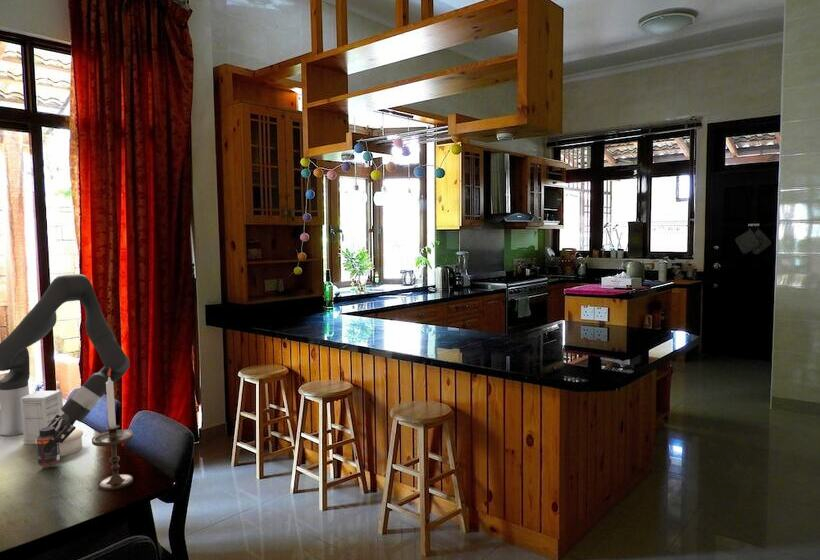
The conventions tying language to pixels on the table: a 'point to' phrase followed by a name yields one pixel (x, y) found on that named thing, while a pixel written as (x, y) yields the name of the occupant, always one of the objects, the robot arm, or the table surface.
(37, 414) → the supplement box
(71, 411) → the robot arm
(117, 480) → the candlestick
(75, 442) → the podium
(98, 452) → the table surface
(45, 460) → the supplement bottle
